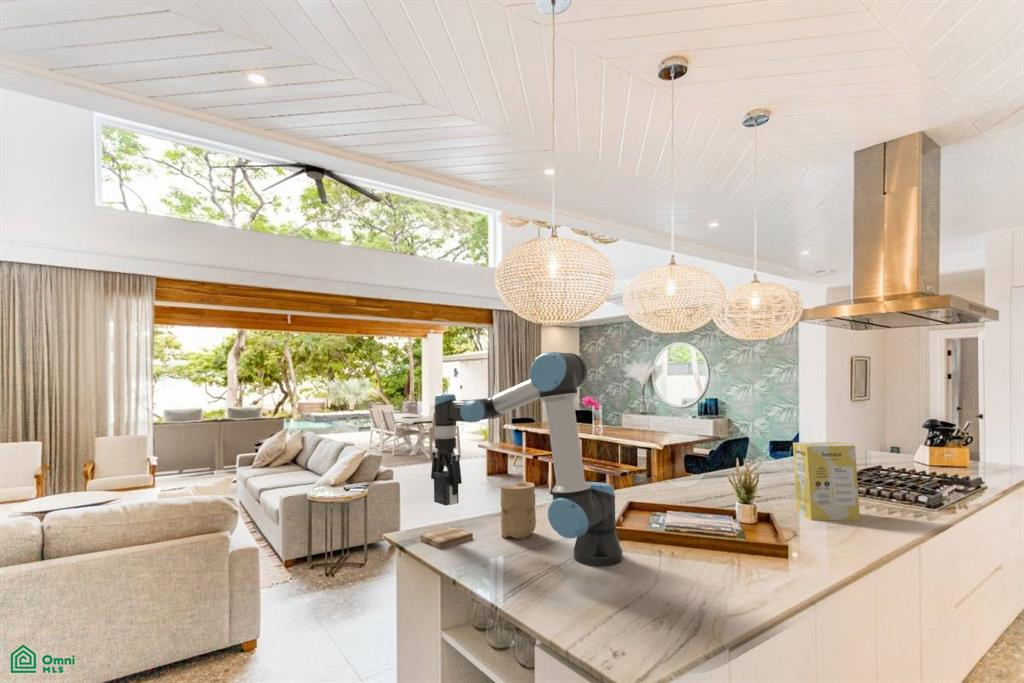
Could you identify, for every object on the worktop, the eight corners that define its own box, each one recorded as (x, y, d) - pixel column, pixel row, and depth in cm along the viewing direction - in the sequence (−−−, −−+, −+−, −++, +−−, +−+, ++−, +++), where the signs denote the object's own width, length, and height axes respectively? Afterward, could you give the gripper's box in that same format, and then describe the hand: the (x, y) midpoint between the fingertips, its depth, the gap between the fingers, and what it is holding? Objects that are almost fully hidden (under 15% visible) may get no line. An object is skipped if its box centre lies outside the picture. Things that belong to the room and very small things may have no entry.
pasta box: (842, 512, 203) (838, 441, 204) (859, 519, 192) (855, 445, 194) (796, 512, 203) (792, 442, 205) (811, 520, 193) (806, 446, 195)
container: (494, 535, 182) (493, 485, 183) (519, 528, 190) (518, 479, 192) (517, 543, 173) (516, 490, 174) (543, 535, 181) (542, 484, 182)
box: (458, 503, 178) (458, 472, 179) (445, 506, 174) (444, 475, 175) (447, 499, 184) (446, 470, 185) (433, 502, 180) (433, 472, 181)
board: (472, 539, 179) (472, 532, 179) (440, 548, 169) (439, 542, 169) (452, 531, 187) (452, 526, 188) (420, 540, 178) (420, 534, 178)
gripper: (471, 438, 176) (472, 505, 174) (437, 434, 191) (438, 495, 189) (454, 440, 171) (455, 509, 169) (420, 436, 186) (421, 498, 184)
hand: (446, 501), depth 179 cm, fingers closed on box, 8 cm apart
